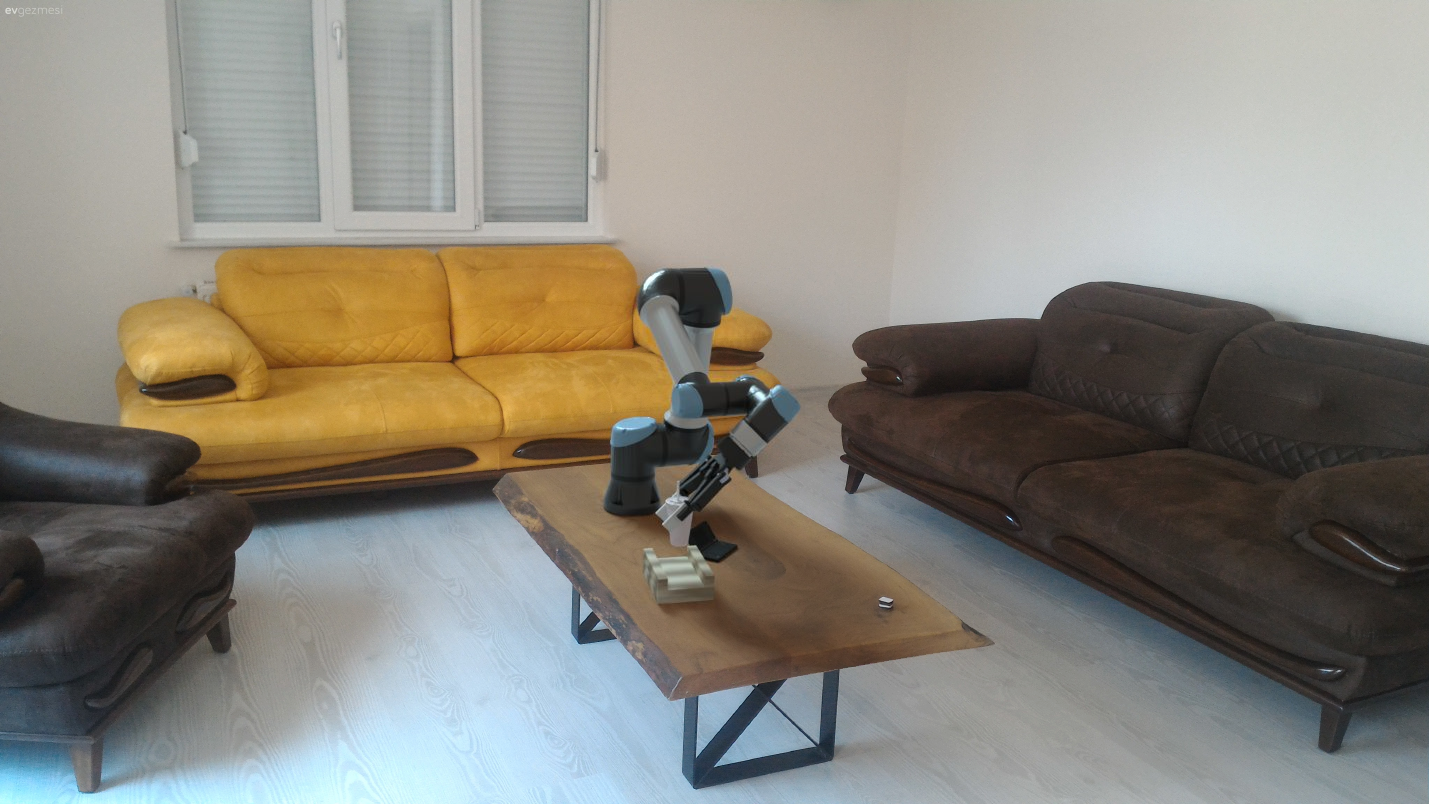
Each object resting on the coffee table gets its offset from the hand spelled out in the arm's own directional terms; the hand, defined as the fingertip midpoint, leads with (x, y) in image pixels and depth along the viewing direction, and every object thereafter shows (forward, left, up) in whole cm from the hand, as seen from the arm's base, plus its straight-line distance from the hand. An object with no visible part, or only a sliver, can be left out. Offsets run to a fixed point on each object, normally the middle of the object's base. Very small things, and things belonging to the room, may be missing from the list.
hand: (663, 522), depth 216 cm
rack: (0, +3, -15) cm, 15 cm away
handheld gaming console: (-18, +15, -15) cm, 28 cm away
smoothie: (0, +4, -5) cm, 6 cm away
